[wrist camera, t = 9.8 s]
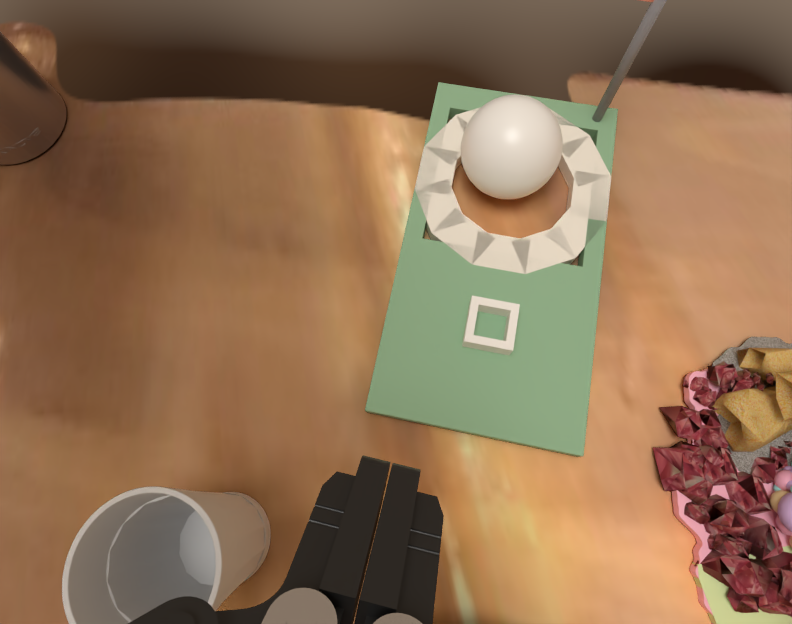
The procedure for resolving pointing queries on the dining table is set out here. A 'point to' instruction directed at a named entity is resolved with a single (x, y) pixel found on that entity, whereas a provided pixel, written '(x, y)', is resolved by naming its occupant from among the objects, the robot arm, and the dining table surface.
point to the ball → (511, 147)
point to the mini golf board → (501, 289)
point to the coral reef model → (737, 481)
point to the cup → (162, 552)
